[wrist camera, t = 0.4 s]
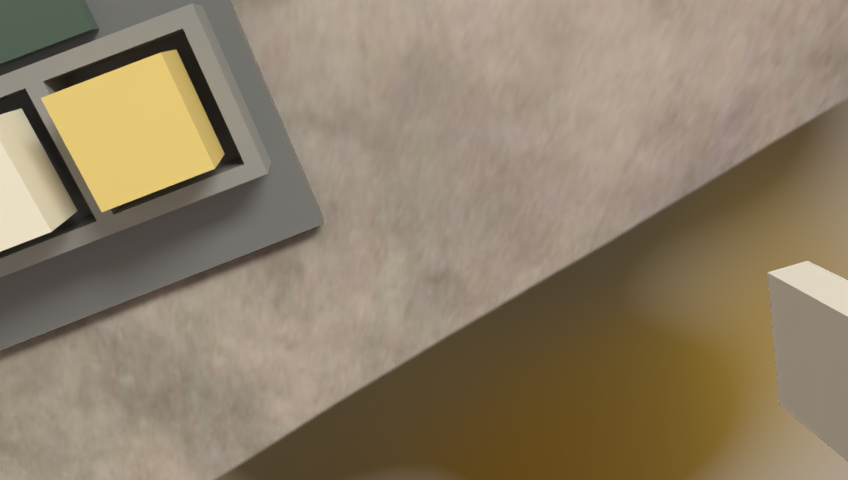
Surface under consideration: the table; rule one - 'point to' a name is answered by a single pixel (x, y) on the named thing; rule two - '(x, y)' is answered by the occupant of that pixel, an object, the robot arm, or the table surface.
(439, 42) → the table surface
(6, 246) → the key ivory
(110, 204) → the key mustard
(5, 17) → the grey compartment tray
